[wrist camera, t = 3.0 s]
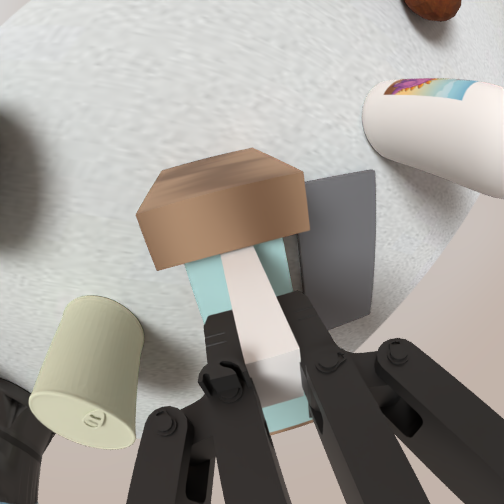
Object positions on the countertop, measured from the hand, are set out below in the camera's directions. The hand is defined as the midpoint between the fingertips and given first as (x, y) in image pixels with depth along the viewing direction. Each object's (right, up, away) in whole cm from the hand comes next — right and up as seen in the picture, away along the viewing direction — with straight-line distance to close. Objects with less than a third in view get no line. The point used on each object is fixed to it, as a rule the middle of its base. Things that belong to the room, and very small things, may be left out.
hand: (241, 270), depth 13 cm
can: (-15, -7, +11) cm, 20 cm away
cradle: (-1, -1, +11) cm, 11 cm away
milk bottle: (+13, +13, +8) cm, 20 cm away
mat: (+9, 0, +13) cm, 16 cm away
